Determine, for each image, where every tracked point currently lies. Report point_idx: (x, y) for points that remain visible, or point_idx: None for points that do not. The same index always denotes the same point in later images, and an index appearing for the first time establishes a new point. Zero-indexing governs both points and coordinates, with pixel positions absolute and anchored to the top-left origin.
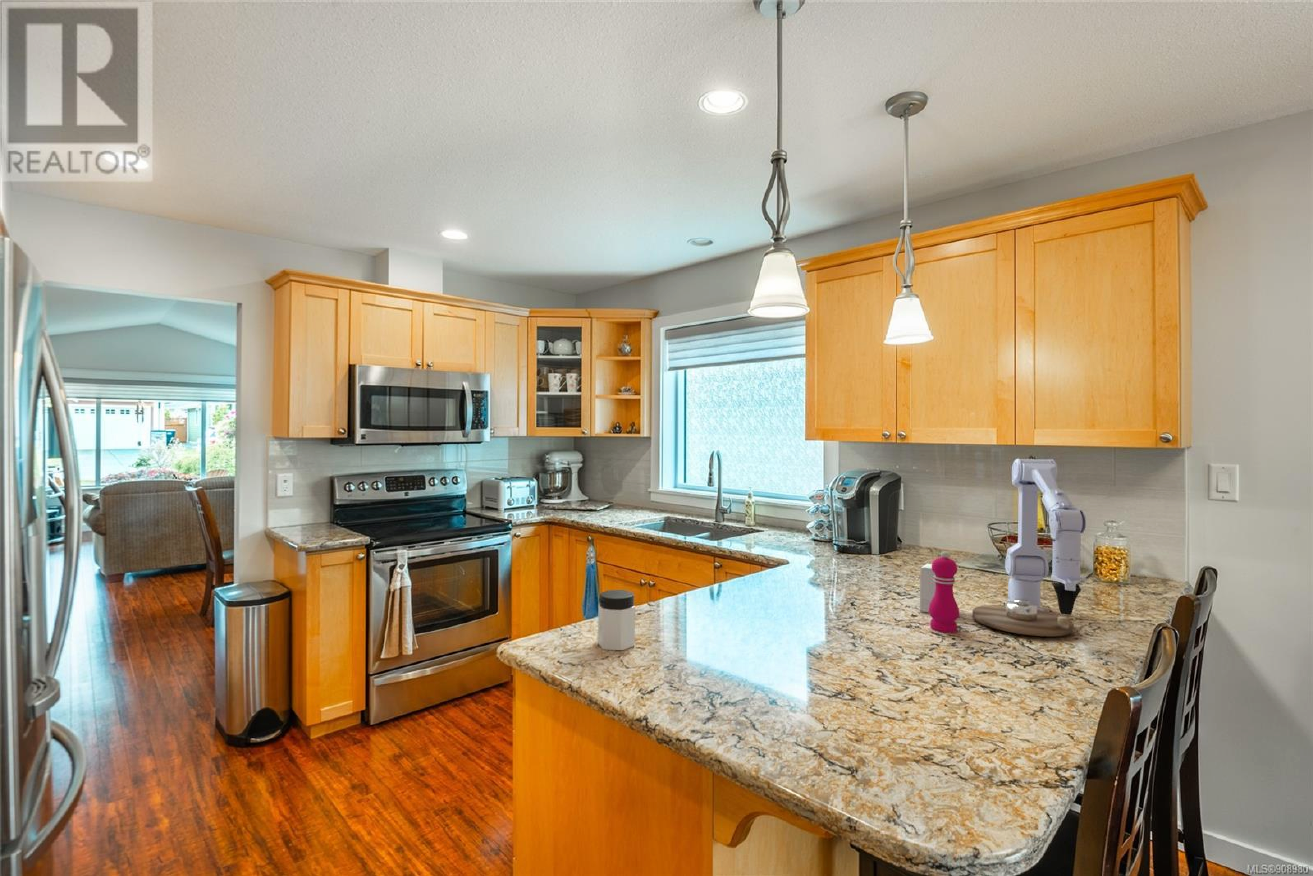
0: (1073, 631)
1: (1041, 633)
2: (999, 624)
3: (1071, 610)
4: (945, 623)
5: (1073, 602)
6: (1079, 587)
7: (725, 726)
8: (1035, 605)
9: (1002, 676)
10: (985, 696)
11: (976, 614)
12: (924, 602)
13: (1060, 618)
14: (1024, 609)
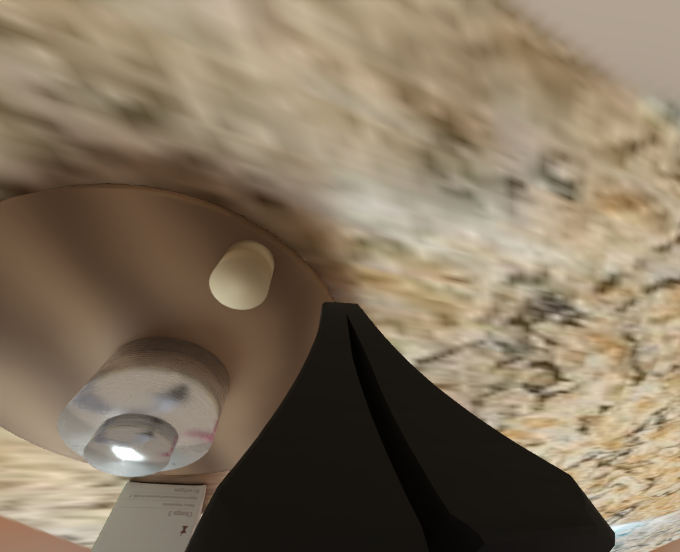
0: (212, 203)
1: None
2: None
3: (368, 322)
4: None
5: (406, 366)
6: (417, 531)
7: (657, 538)
8: (112, 394)
9: (606, 410)
10: (673, 428)
11: (223, 467)
12: None
13: (257, 301)
14: (213, 422)
